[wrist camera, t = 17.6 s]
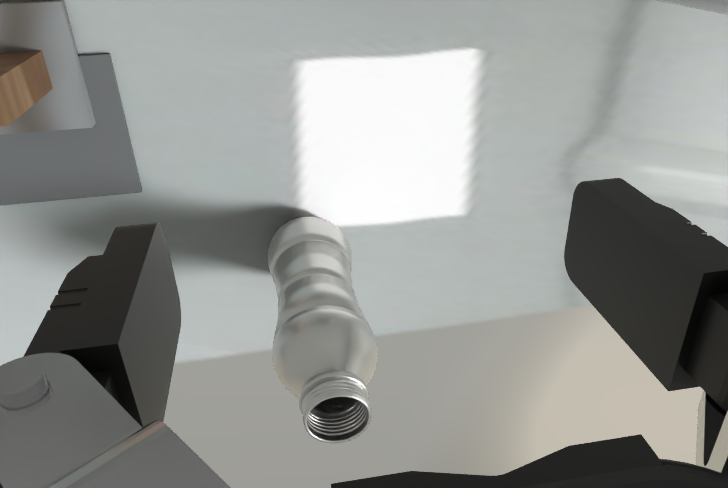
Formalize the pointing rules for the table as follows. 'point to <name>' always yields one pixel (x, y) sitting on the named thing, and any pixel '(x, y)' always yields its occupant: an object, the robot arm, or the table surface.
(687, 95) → the table surface
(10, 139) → the tool mat
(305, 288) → the plastic bottle
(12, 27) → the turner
